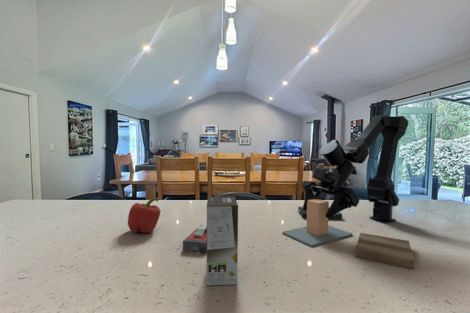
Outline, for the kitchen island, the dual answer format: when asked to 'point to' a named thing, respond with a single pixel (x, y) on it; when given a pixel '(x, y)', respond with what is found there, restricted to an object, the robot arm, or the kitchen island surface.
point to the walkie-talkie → (196, 240)
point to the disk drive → (336, 217)
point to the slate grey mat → (314, 240)
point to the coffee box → (222, 240)
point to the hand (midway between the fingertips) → (314, 213)
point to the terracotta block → (317, 217)
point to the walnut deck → (385, 250)
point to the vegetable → (143, 216)
